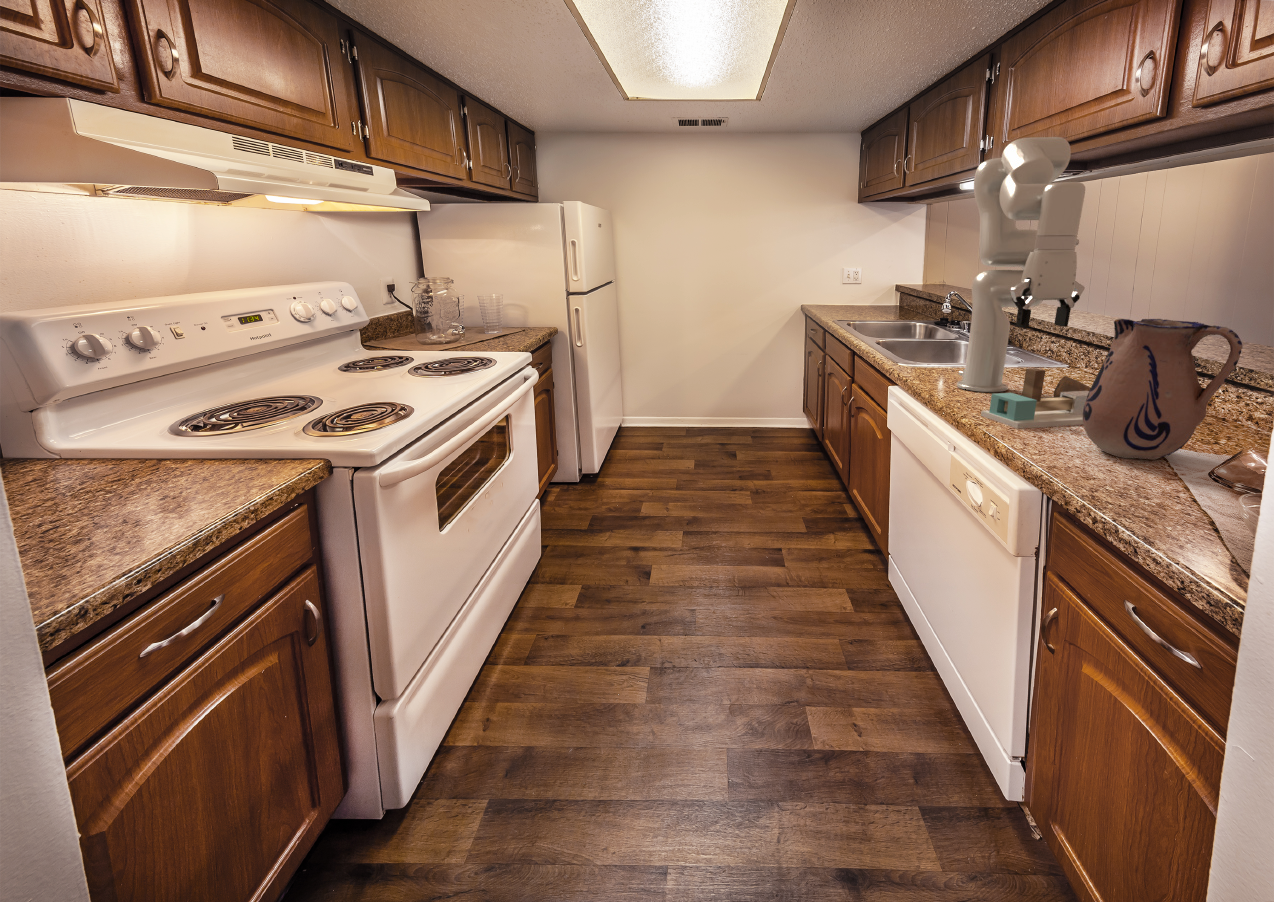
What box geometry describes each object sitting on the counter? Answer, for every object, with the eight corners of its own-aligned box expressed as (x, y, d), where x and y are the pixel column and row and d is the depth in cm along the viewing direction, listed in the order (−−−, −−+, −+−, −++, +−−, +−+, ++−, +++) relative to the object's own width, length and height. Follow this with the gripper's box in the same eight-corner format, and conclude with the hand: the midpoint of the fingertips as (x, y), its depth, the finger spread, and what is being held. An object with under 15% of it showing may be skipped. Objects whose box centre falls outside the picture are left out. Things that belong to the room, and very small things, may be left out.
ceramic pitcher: (1083, 436, 143) (1106, 314, 136) (1213, 454, 131) (1246, 320, 123) (1069, 455, 130) (1093, 322, 123) (1212, 478, 118) (1248, 330, 110)
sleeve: (1083, 409, 161) (1087, 390, 160) (1099, 413, 157) (1102, 394, 156) (1057, 410, 160) (1060, 392, 159) (1072, 415, 156) (1075, 396, 155)
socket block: (1008, 411, 160) (1011, 392, 158) (1033, 419, 152) (1036, 400, 151) (989, 412, 159) (991, 393, 157) (1013, 420, 151) (1016, 401, 150)
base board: (1077, 410, 166) (1078, 405, 165) (1119, 422, 154) (1120, 417, 154) (980, 415, 161) (981, 410, 161) (1017, 428, 150) (1018, 423, 149)
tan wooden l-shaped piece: (1068, 406, 159) (1075, 366, 157) (1078, 409, 157) (1085, 368, 154) (1002, 410, 156) (1009, 369, 154) (1012, 413, 154) (1018, 371, 151)
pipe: (1139, 386, 170) (1108, 372, 179) (1080, 388, 167) (1051, 374, 176) (1130, 410, 172) (1100, 396, 181) (1072, 413, 170) (1044, 398, 179)
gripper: (1076, 244, 151) (1062, 323, 156) (1006, 245, 148) (994, 326, 153) (1104, 244, 144) (1089, 327, 149) (1032, 245, 141) (1018, 330, 146)
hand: (1041, 326), depth 151 cm, fingers open, 9 cm apart
